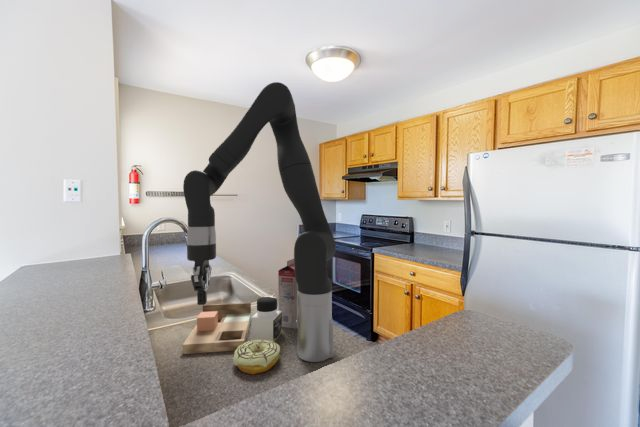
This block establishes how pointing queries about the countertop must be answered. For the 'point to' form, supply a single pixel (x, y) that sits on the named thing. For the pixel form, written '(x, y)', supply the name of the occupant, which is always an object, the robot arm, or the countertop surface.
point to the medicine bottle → (266, 320)
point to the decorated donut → (256, 356)
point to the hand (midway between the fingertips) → (202, 303)
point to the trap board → (221, 329)
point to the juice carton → (288, 295)
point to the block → (207, 321)
